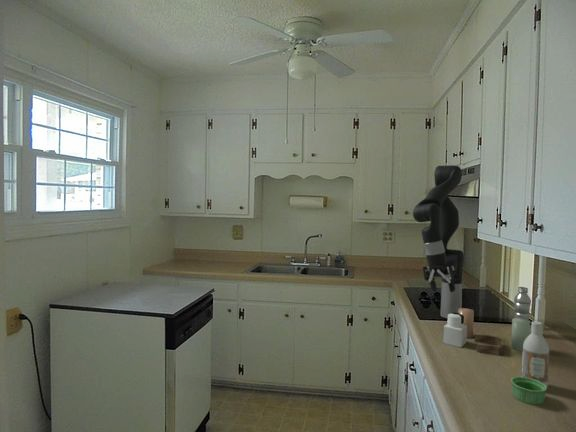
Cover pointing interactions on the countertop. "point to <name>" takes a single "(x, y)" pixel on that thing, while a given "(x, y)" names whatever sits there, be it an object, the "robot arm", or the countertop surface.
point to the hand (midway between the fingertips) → (443, 291)
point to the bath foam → (535, 355)
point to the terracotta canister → (468, 320)
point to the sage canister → (519, 333)
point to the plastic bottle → (522, 303)
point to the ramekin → (528, 390)
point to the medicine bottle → (455, 330)
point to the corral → (489, 348)
